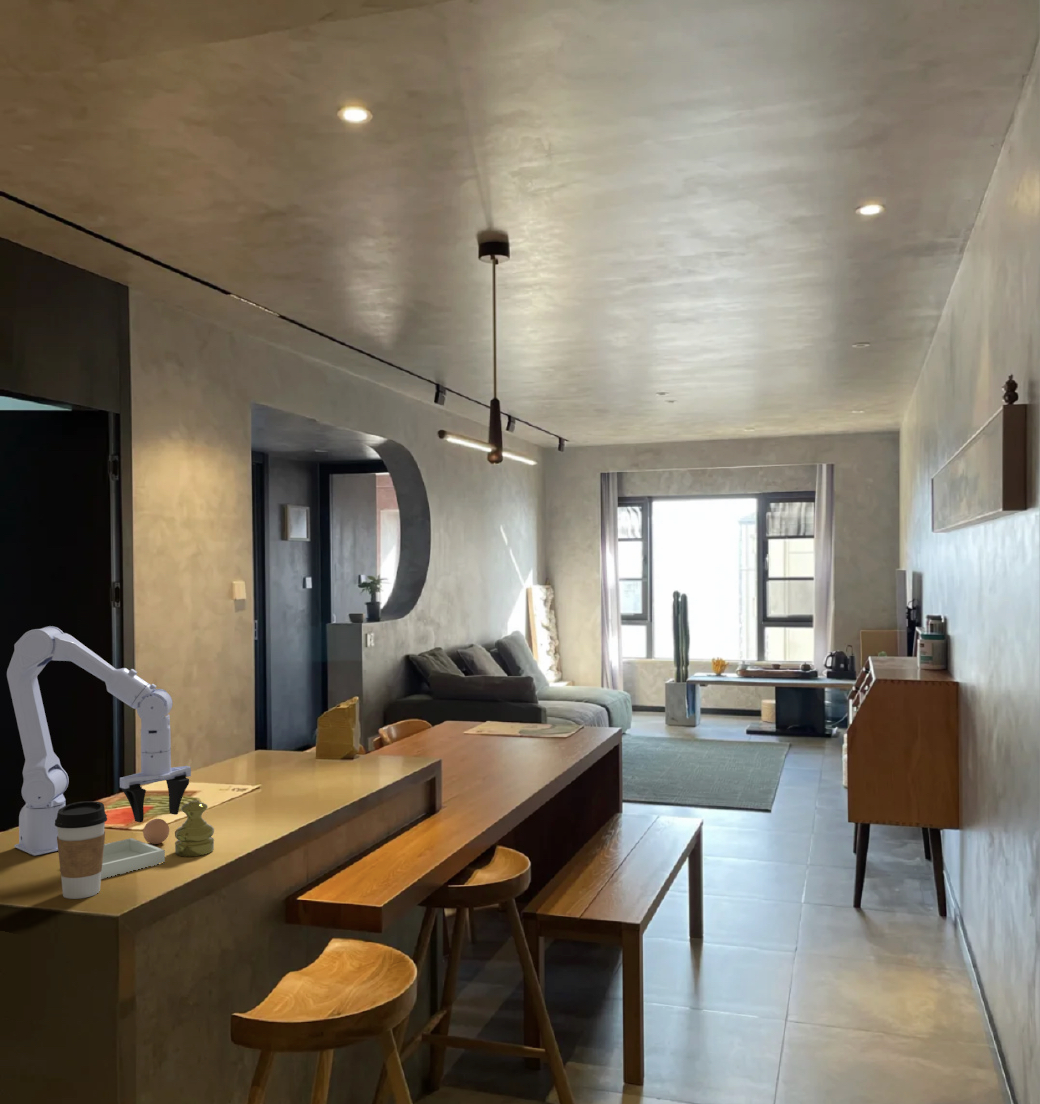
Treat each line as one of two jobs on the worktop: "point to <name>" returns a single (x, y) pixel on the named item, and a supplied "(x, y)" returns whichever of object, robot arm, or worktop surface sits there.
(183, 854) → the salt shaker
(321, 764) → the worktop surface
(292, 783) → the worktop surface
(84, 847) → the coffee cup
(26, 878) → the worktop surface
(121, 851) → the tray
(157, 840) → the ball
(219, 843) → the worktop surface
